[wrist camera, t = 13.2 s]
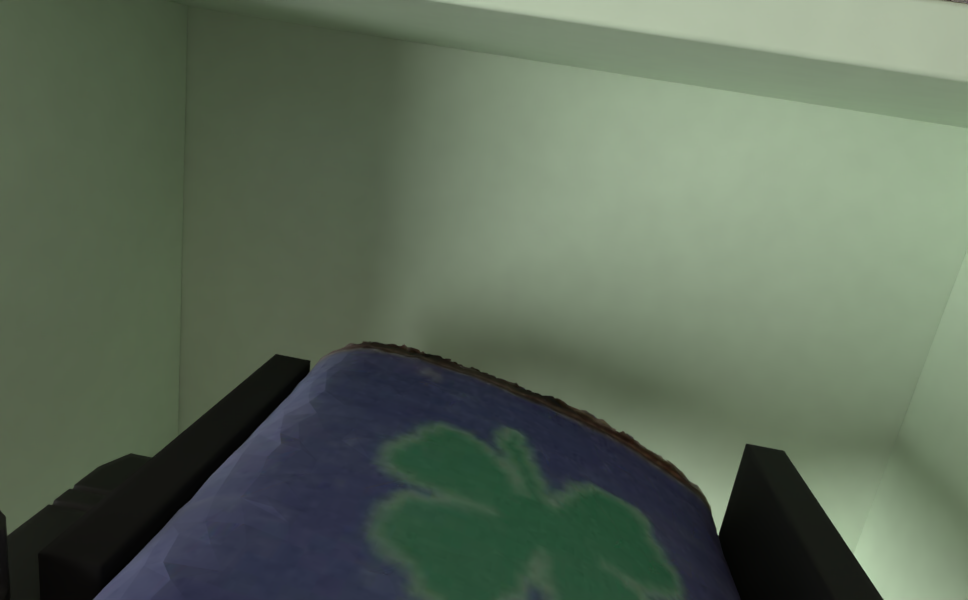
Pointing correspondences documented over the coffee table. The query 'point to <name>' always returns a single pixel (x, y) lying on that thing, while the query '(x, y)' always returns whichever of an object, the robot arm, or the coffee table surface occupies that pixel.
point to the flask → (433, 499)
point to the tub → (506, 229)
